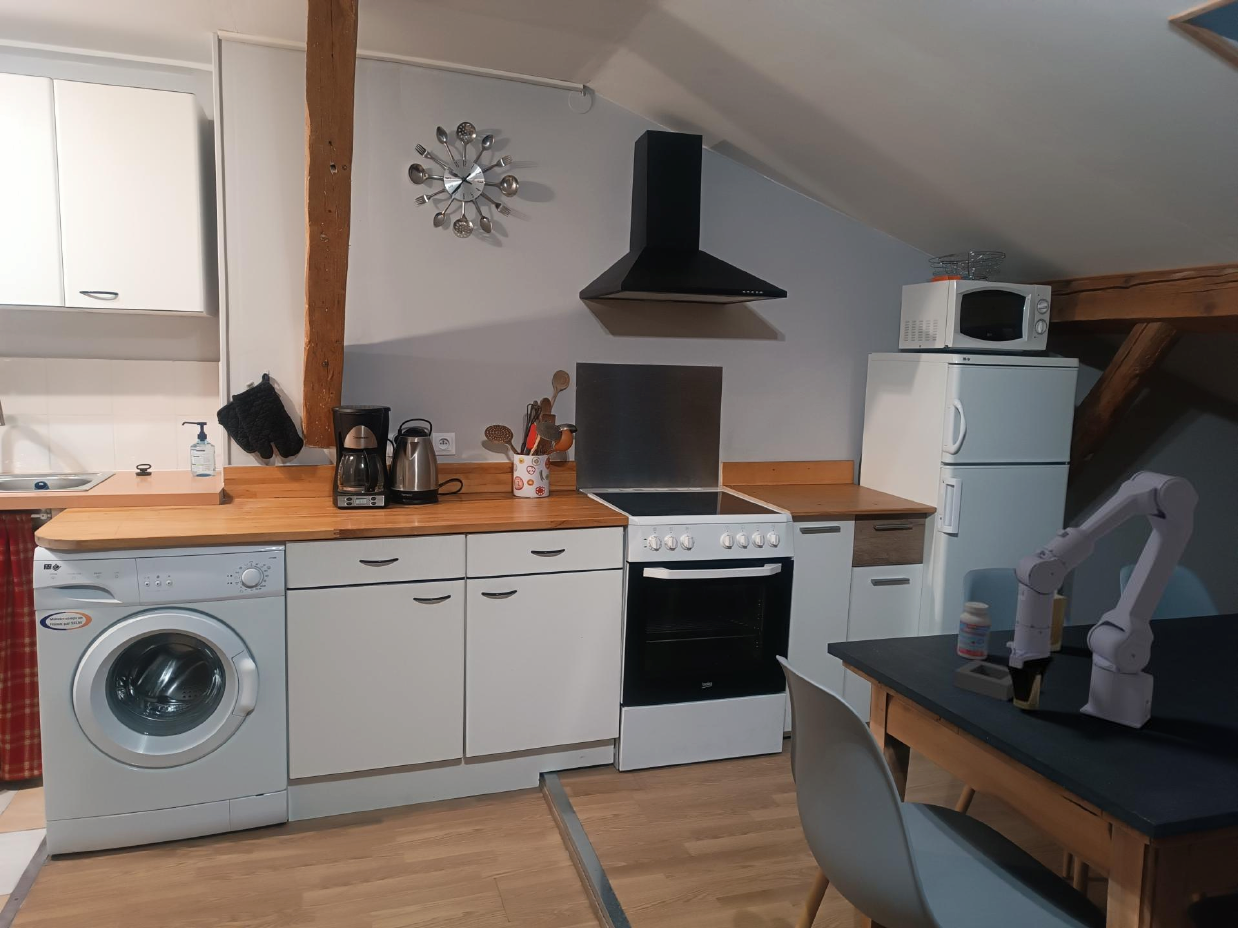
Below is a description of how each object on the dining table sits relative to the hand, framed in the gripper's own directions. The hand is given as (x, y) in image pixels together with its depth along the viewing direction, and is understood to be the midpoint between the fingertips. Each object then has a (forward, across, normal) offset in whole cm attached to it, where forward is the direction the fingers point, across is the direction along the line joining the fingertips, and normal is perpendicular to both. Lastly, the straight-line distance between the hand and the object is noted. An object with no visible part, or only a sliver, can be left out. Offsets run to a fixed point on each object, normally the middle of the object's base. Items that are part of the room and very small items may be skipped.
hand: (1026, 697), depth 156 cm
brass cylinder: (+2, 0, 0) cm, 2 cm away
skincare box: (+3, -42, -11) cm, 43 cm away
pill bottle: (+3, -23, -19) cm, 30 cm away
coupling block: (+2, -7, -9) cm, 12 cm away
